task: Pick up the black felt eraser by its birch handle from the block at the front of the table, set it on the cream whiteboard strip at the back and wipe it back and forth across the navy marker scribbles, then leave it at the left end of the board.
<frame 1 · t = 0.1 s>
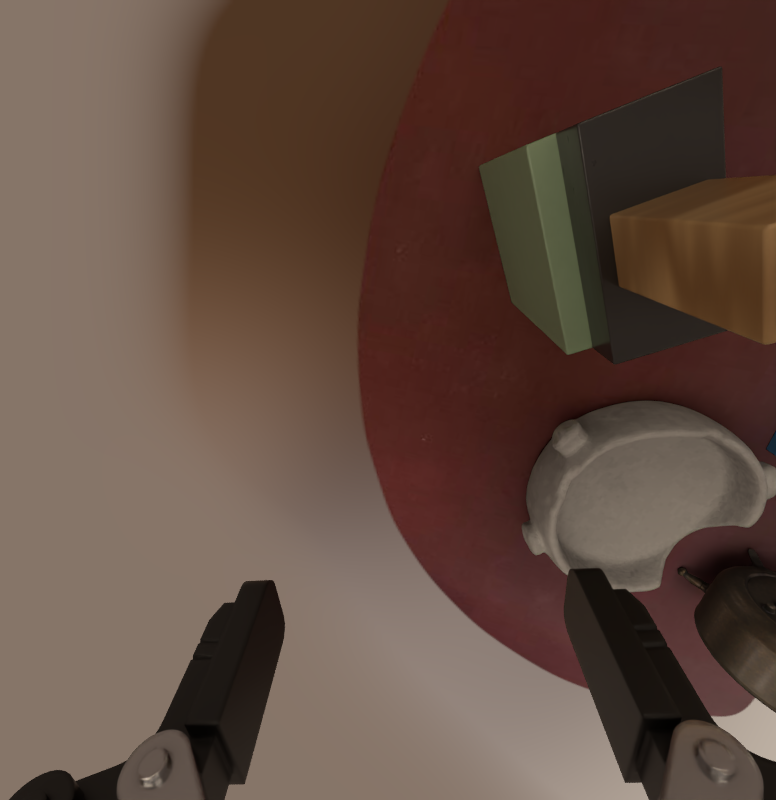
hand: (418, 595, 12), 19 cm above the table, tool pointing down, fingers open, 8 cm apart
dish: (611, 472, 32), on the table
alarm clock: (732, 565, 35), on the table
eraser: (631, 231, 16), point 10 cm above the table, touching block
block: (547, 220, 25), on the table
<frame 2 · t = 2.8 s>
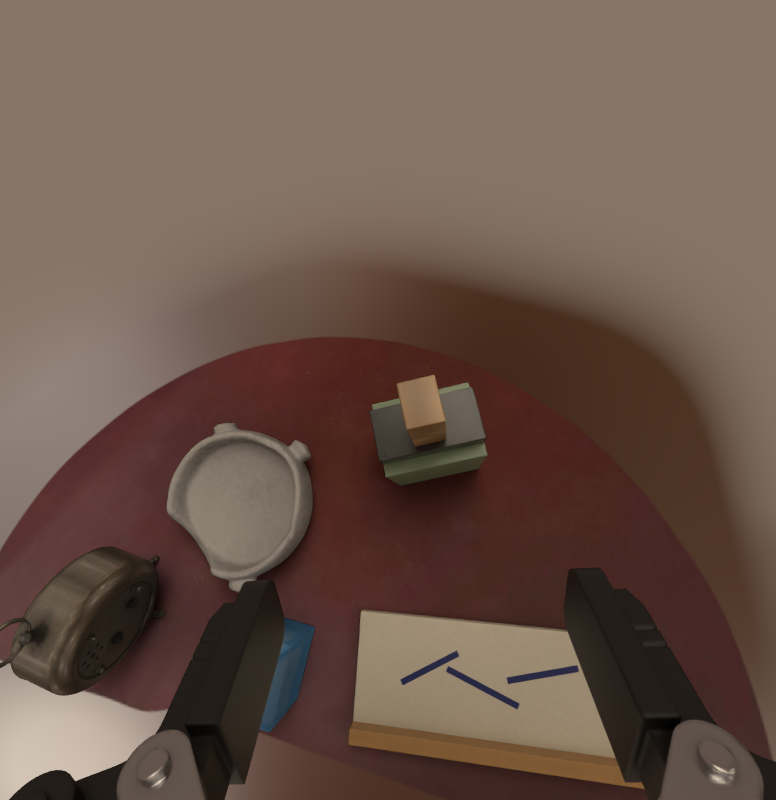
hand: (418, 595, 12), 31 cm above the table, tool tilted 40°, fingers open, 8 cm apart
dish: (257, 498, 45), on the table
alarm clock: (149, 603, 43), on the table
eraser: (427, 429, 34), point 10 cm above the table, touching block
perfume bottle: (276, 651, 41), on the table
block: (432, 448, 43), on the table
board: (493, 685, 37), on the table
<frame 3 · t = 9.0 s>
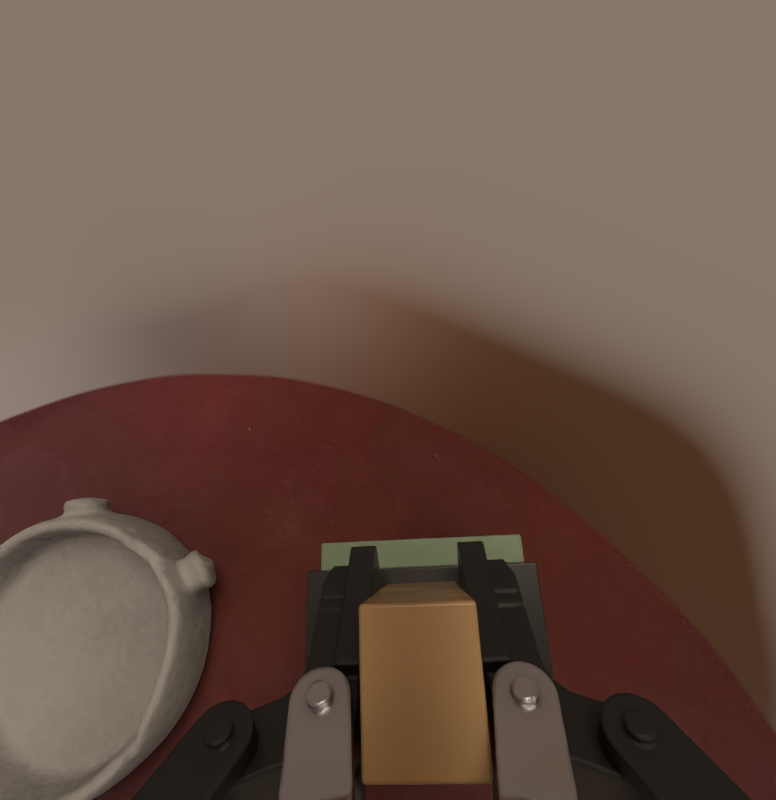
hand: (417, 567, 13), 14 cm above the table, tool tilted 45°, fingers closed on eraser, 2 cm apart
dish: (120, 628, 27), on the table
eraser: (424, 622, 16), point 10 cm above the table, touching gripper, block
block: (425, 597, 25), on the table
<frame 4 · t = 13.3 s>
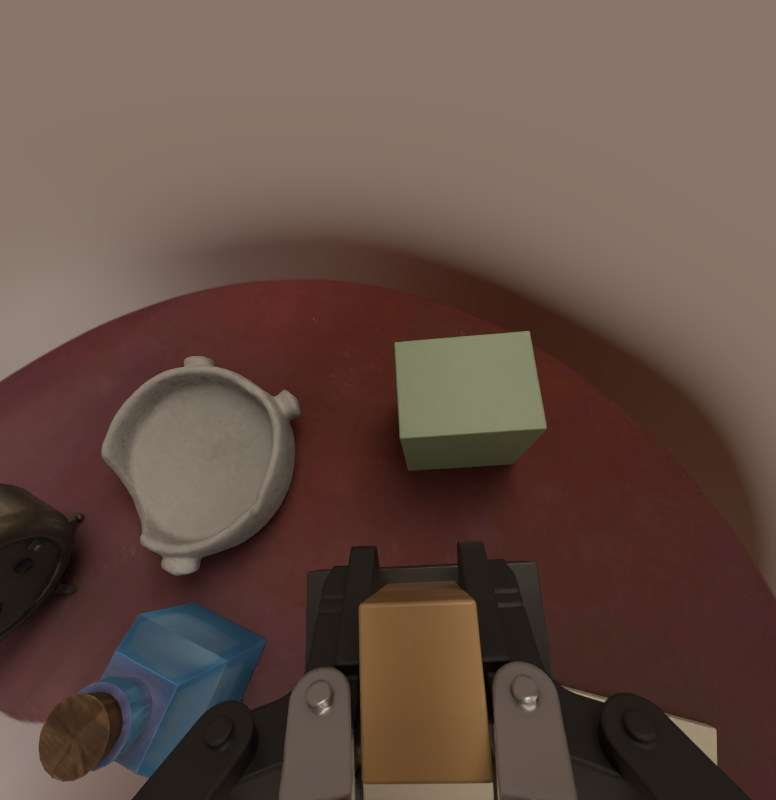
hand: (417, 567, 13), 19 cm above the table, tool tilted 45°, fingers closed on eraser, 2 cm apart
dish: (223, 460, 35), on the table
alarm clock: (58, 574, 33), on the table
eraser: (424, 622, 16), point 15 cm above the table, touching gripper
perfume bottle: (209, 665, 30), on the table
block: (456, 429, 34), on the table
board: (499, 762, 26), on the table
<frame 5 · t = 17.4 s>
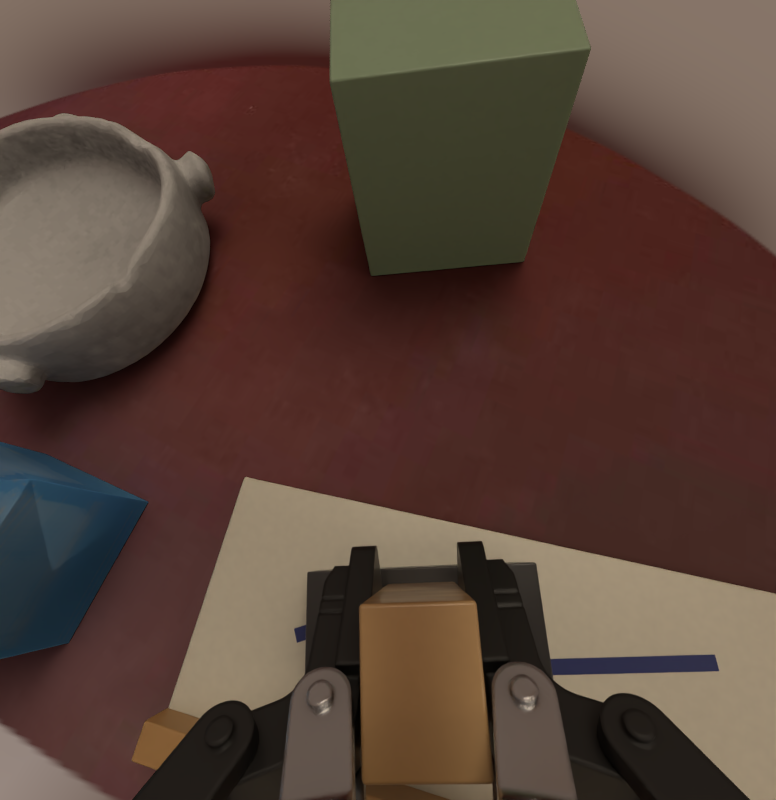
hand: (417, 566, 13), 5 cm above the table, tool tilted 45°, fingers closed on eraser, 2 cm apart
dish: (113, 275, 25), on the table
eraser: (423, 622, 16), point 1 cm above the table, touching board, gripper
perfume bottle: (60, 541, 20), on the table
block: (441, 224, 23), on the table
board: (503, 675, 16), on the table
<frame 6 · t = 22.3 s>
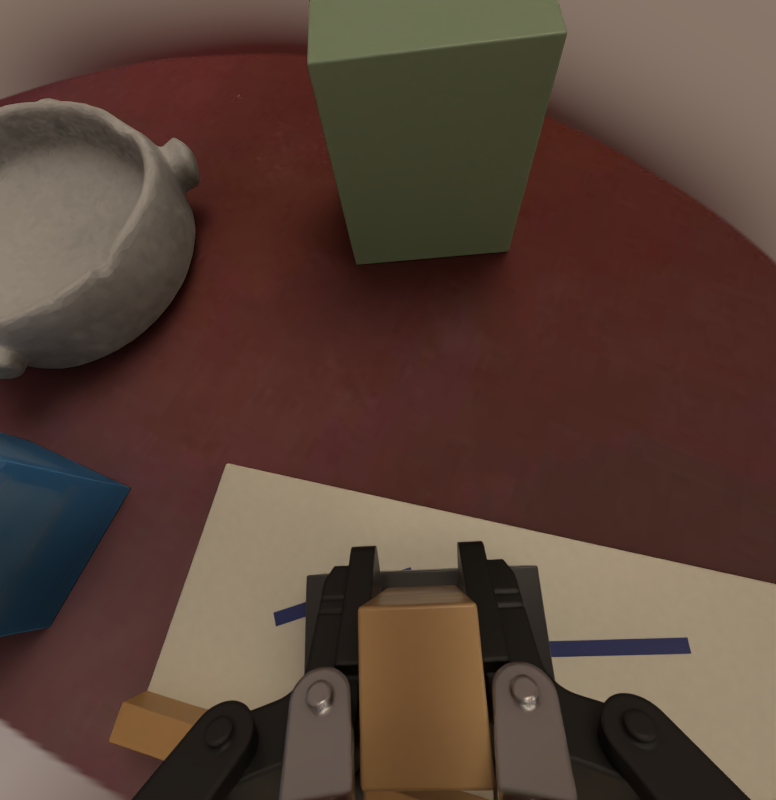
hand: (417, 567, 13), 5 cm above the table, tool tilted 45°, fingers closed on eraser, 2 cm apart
dish: (97, 263, 25), on the table
eraser: (424, 627, 16), point 1 cm above the table, touching gripper
perfume bottle: (42, 527, 20), on the table
block: (427, 213, 24), on the table
board: (480, 658, 16), on the table
when the fingers open (5 cm above the table, at t = 26.2 s): eraser stays where it is, resting on board.
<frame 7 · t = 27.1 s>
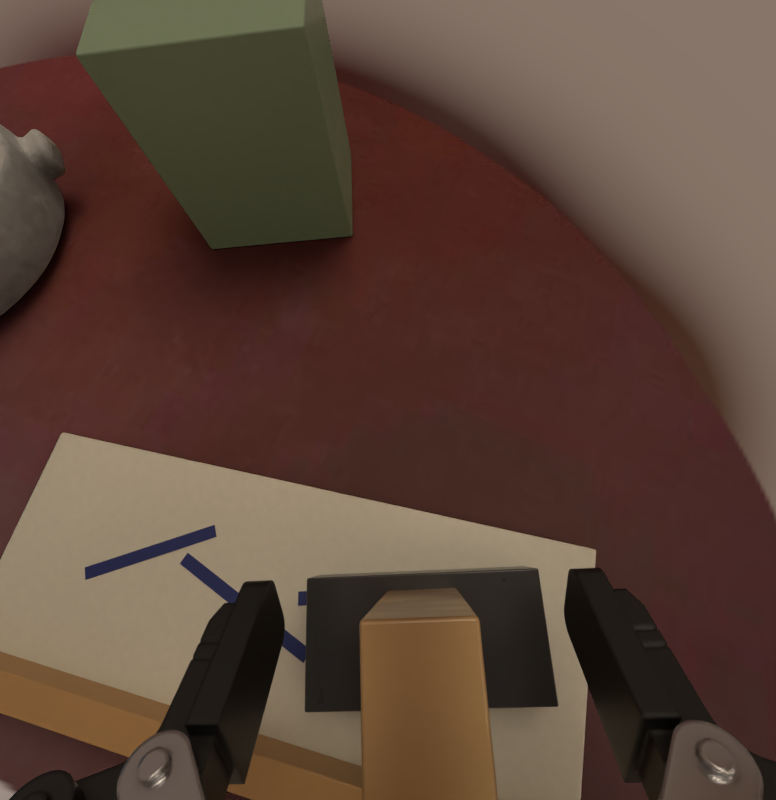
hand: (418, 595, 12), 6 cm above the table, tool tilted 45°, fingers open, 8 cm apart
eraser: (424, 627, 16), point 1 cm above the table, touching board
block: (283, 201, 25), on the table
board: (273, 608, 17), on the table
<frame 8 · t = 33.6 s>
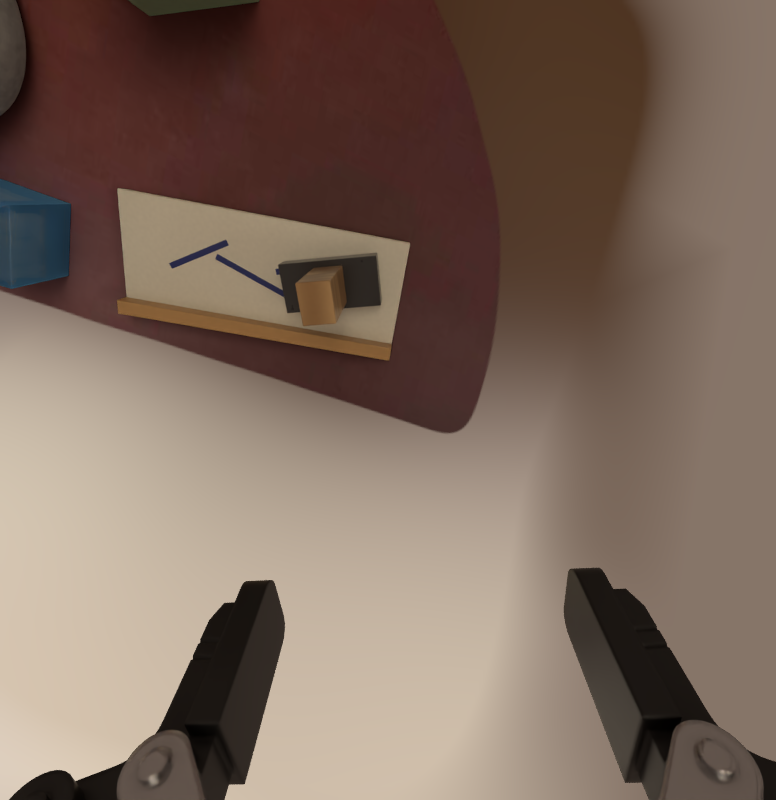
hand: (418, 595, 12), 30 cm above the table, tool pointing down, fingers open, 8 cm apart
eraser: (333, 280, 37), point 1 cm above the table, touching board
perfume bottle: (34, 228, 37), on the table
board: (265, 276, 38), on the table
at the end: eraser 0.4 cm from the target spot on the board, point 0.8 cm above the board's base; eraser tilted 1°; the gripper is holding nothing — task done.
